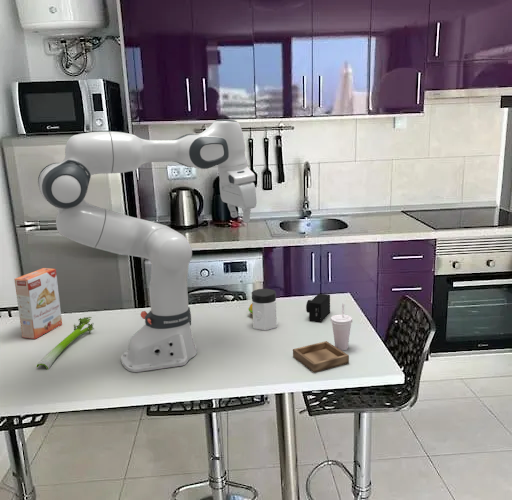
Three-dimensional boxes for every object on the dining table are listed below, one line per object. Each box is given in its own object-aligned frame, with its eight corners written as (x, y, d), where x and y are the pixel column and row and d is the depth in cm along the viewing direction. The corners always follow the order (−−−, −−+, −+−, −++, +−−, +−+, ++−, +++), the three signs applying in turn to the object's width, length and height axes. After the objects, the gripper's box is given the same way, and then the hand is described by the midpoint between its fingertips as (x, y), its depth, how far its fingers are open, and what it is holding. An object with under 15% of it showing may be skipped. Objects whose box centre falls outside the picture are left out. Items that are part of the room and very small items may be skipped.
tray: (313, 372, 146) (313, 364, 146) (293, 357, 157) (292, 349, 156) (348, 363, 151) (348, 355, 150) (326, 348, 161) (326, 341, 161)
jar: (247, 328, 180) (245, 294, 177) (259, 319, 187) (257, 287, 184) (270, 332, 176) (269, 297, 173) (282, 323, 182) (281, 290, 180)
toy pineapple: (247, 319, 188) (246, 305, 186) (251, 309, 197) (250, 295, 196) (266, 319, 187) (266, 305, 186) (269, 309, 196) (269, 295, 195)
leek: (32, 375, 156) (79, 328, 184) (54, 379, 155) (98, 331, 183) (31, 357, 154) (79, 312, 182) (54, 361, 153) (98, 315, 181)
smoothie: (355, 350, 159) (356, 306, 156) (336, 353, 158) (336, 309, 154) (346, 342, 165) (346, 299, 162) (327, 345, 164) (327, 302, 160)
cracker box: (36, 340, 177) (27, 279, 172) (21, 338, 179) (12, 278, 174) (63, 324, 190) (56, 267, 185) (50, 323, 191) (42, 267, 186)
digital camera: (315, 311, 193) (315, 292, 192) (330, 312, 191) (330, 294, 189) (305, 321, 184) (305, 301, 183) (321, 323, 182) (320, 303, 180)
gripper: (212, 173, 166) (218, 216, 170) (237, 179, 148) (243, 227, 152) (230, 170, 169) (236, 212, 173) (257, 175, 151) (263, 222, 154)
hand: (240, 219), depth 162 cm, fingers open, 8 cm apart
